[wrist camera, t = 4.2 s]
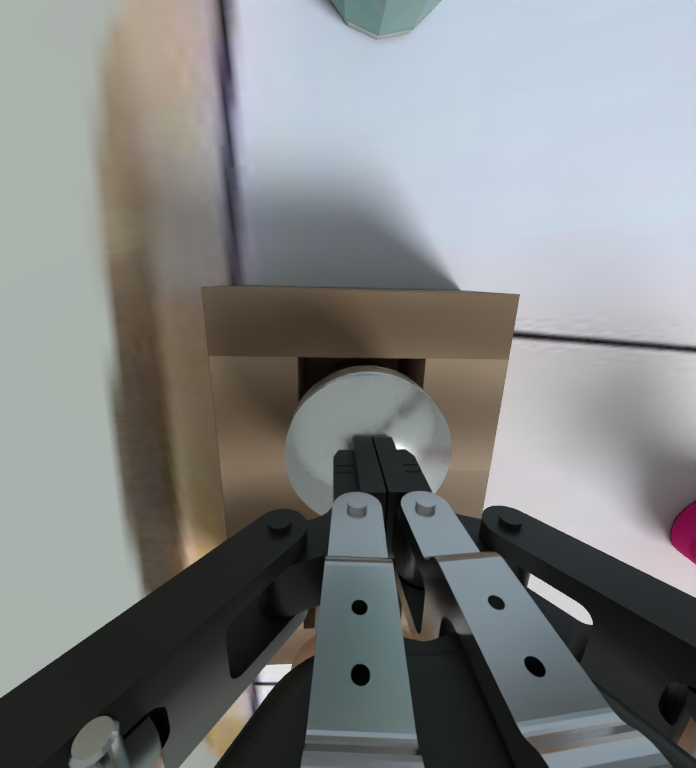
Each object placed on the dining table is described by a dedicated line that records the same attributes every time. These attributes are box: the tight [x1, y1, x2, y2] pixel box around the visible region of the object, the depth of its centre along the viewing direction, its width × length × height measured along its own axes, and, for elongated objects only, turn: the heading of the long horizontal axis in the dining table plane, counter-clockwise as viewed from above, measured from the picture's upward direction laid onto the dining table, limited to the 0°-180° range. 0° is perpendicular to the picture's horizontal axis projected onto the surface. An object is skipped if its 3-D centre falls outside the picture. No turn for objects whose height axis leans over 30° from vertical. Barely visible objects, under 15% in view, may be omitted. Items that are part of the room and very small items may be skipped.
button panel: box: [201, 285, 520, 665], centre depth 21 cm, size 23×14×7 cm, turn 179°
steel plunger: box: [284, 359, 452, 516], centre depth 16 cm, size 6×6×7 cm
